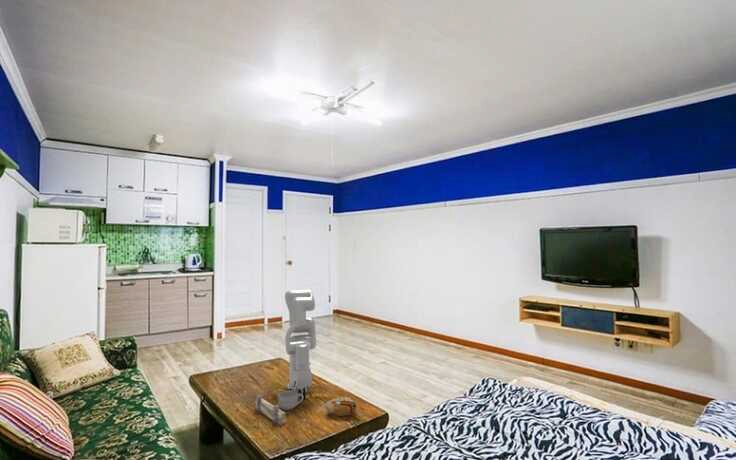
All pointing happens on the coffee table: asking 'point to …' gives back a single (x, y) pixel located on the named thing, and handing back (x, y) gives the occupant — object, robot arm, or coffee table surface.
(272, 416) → the bar
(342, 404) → the nautilus
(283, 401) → the teacup
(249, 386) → the coffee table surface
